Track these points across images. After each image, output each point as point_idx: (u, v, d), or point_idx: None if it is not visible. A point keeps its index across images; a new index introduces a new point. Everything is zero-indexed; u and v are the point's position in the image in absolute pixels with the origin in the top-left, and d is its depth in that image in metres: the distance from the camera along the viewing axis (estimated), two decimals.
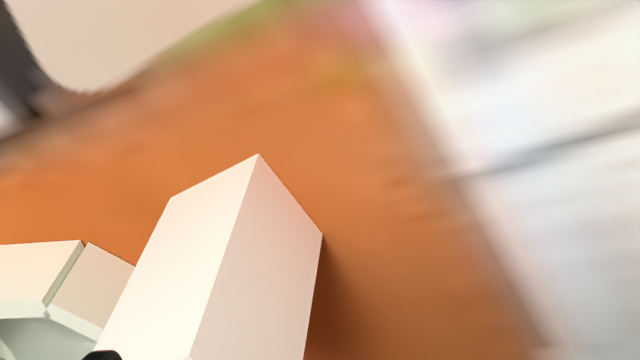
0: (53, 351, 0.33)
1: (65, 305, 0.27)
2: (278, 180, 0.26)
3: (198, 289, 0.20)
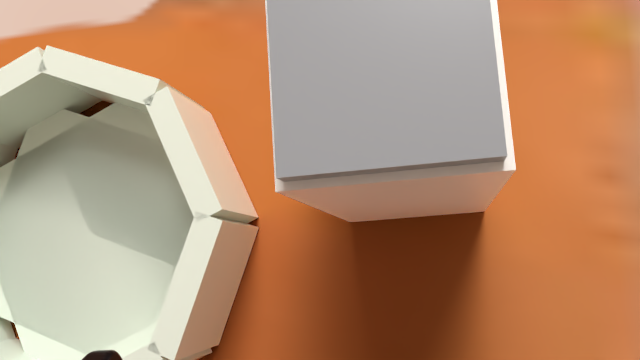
0: (47, 233, 0.25)
1: (176, 102, 0.21)
2: None
3: None
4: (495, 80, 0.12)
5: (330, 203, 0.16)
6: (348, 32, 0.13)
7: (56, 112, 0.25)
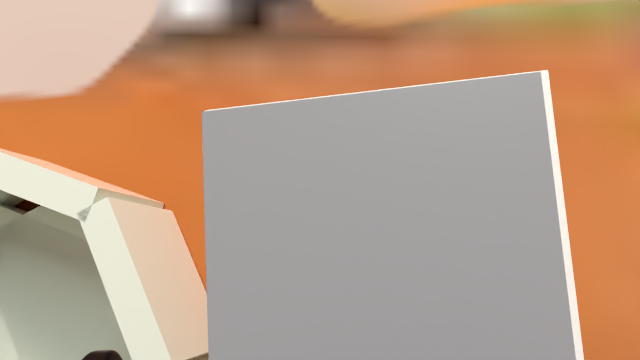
0: None
1: (119, 217, 0.17)
2: None
3: None
4: (565, 318, 0.07)
5: None
6: (327, 220, 0.08)
7: None
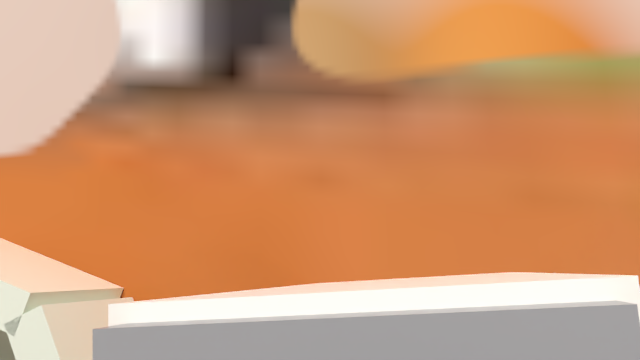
0: None
1: (56, 329, 0.13)
2: None
3: (518, 276, 0.08)
4: None
5: None
6: None
7: None
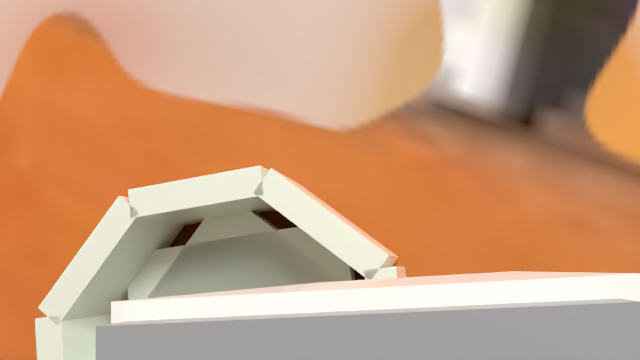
0: None
1: None
2: None
3: (520, 275, 0.08)
4: None
5: None
6: None
7: (241, 212, 0.23)
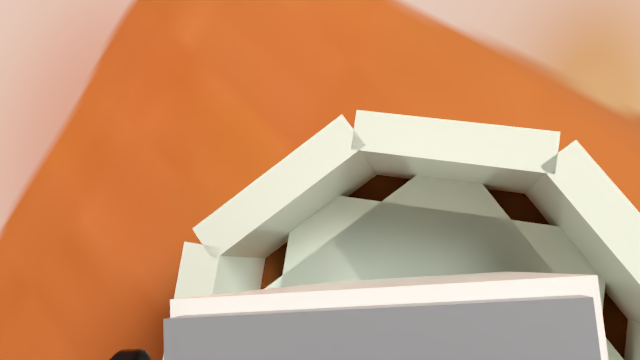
0: None
1: None
2: None
3: None
4: None
5: None
6: None
7: (469, 182, 0.17)
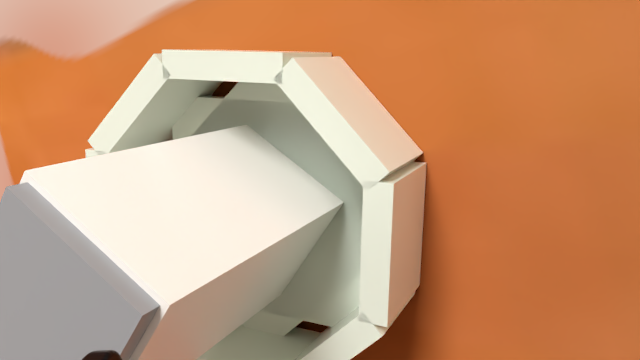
0: None
1: (307, 71, 0.20)
2: (273, 147, 0.24)
3: None
4: (95, 272, 0.14)
5: None
6: (15, 317, 0.15)
7: (192, 103, 0.25)
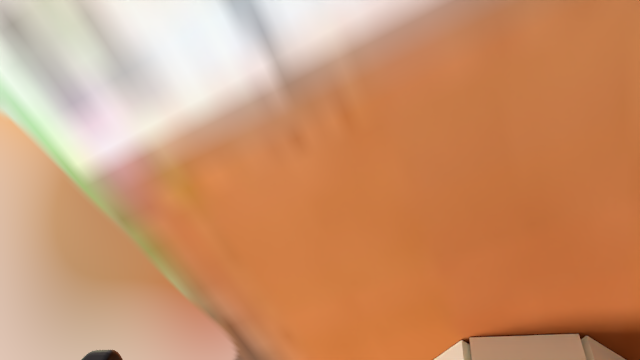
0: None
1: None
2: None
3: None
4: None
5: None
6: None
7: None
